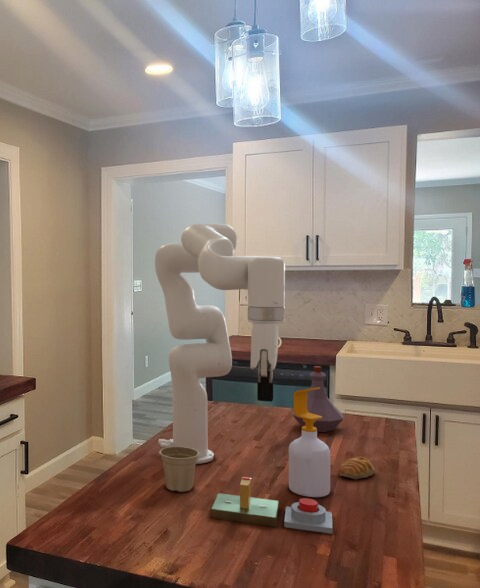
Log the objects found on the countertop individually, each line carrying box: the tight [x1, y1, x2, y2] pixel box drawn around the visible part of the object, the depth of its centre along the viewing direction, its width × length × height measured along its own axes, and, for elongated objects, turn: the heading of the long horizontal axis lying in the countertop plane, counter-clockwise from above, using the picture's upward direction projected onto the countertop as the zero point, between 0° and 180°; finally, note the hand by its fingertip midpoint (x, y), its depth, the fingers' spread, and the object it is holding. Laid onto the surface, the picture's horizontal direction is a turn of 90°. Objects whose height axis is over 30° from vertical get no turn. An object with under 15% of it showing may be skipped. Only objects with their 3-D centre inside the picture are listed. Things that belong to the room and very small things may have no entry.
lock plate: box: [210, 492, 280, 528], centre depth 123 cm, size 13×9×2 cm
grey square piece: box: [283, 501, 334, 535], centre depth 118 cm, size 9×8×3 cm
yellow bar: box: [239, 476, 252, 509], centre depth 123 cm, size 4×2×5 cm, turn 158°
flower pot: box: [159, 446, 199, 493], centre depth 138 cm, size 9×9×9 cm
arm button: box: [298, 497, 319, 512], centre depth 118 cm, size 4×4×2 cm
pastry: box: [338, 456, 376, 480], centre depth 145 cm, size 9×7×4 cm
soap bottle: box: [288, 387, 331, 498], centre depth 135 cm, size 9×9×25 cm
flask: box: [292, 365, 344, 433], centre depth 187 cm, size 16×16×20 cm
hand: (265, 400), depth 124 cm, fingers closed
